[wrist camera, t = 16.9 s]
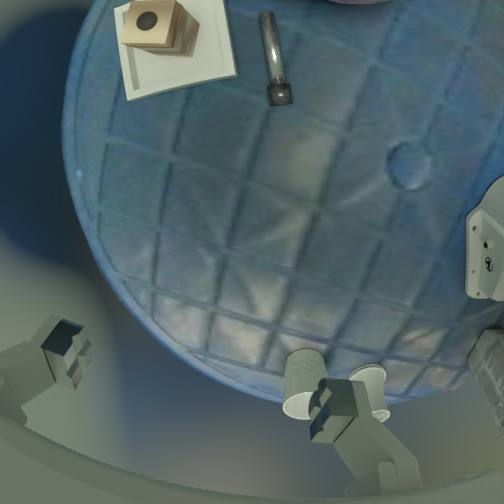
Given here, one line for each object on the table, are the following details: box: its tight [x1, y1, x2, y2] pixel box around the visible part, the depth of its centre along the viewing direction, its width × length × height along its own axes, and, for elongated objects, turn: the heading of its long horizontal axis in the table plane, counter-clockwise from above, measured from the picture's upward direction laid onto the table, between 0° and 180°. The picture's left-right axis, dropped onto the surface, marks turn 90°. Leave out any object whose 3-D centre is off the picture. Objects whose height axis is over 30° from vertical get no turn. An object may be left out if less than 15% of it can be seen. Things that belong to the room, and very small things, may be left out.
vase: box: [348, 364, 390, 422], centre depth 49 cm, size 8×8×10 cm
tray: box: [114, 0, 238, 101], centre depth 29 cm, size 13×13×3 cm
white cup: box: [283, 349, 328, 419], centre depth 48 cm, size 8×8×10 cm
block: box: [121, 0, 200, 58], centre depth 25 cm, size 5×5×10 cm
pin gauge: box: [259, 12, 293, 106], centre depth 30 cm, size 12×3×3 cm, turn 9°
